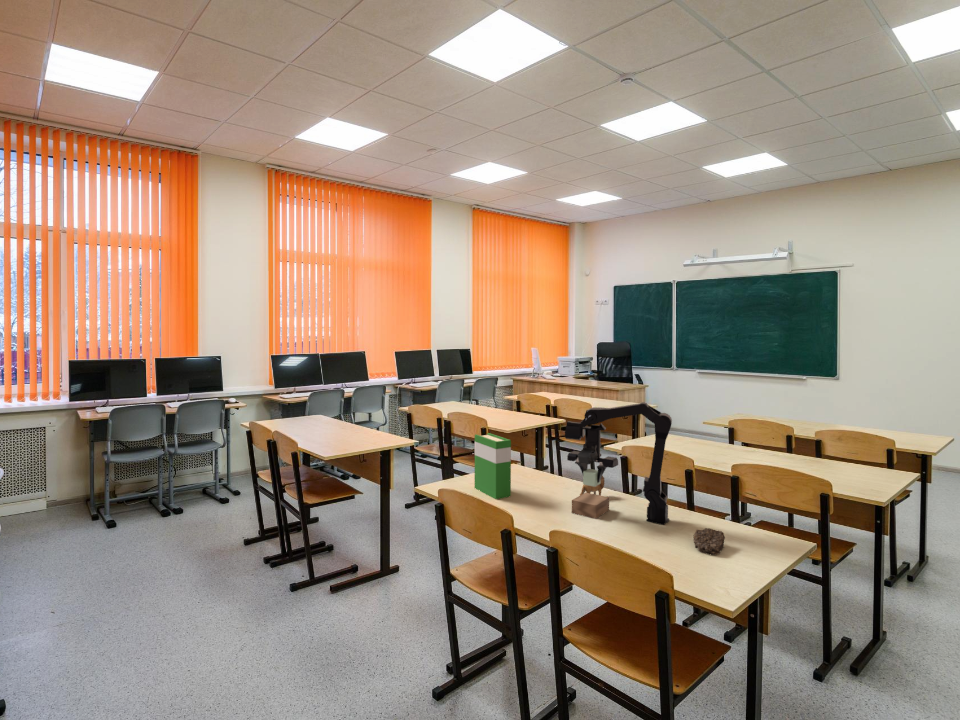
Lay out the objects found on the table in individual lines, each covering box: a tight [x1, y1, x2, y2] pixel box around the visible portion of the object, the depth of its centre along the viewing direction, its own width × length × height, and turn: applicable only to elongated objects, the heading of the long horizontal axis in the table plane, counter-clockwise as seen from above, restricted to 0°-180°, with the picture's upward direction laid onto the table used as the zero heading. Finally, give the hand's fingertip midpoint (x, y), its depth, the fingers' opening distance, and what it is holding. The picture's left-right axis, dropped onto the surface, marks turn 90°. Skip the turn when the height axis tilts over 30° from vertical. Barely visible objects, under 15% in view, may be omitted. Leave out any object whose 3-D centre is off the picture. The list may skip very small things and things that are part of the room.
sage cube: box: [582, 468, 601, 487], centre depth 199 cm, size 5×5×5 cm
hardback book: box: [474, 432, 512, 500], centre depth 224 cm, size 18×7×24 cm, turn 30°
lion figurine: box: [579, 475, 605, 496], centre depth 217 cm, size 15×5×9 cm, turn 132°
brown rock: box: [693, 527, 726, 556], centre depth 168 cm, size 12×10×5 cm
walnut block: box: [571, 492, 610, 520], centre depth 201 cm, size 10×12×5 cm
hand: (591, 481), depth 200 cm, fingers closed on sage cube, 5 cm apart
